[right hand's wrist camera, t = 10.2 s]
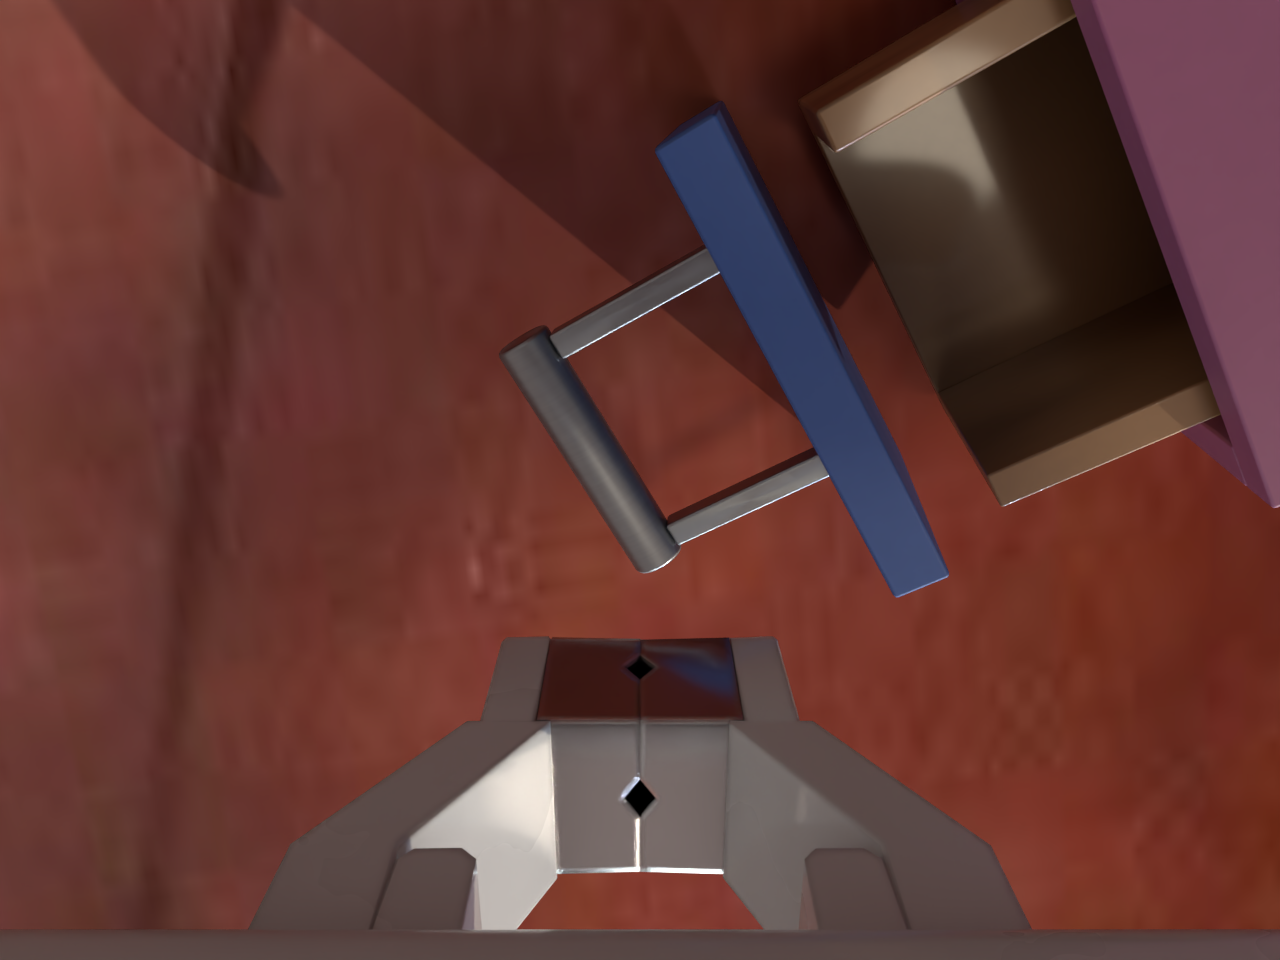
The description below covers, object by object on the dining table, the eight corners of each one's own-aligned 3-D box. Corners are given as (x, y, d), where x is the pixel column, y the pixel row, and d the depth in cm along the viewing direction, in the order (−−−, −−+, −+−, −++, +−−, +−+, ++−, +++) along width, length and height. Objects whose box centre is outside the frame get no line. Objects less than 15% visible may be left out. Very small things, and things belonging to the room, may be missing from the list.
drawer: (687, 552, 26) (671, 691, 20) (493, 238, 23) (409, 297, 17) (1613, 129, 20) (1983, 156, 14) (1519, -390, 16) (1947, -640, 11)
